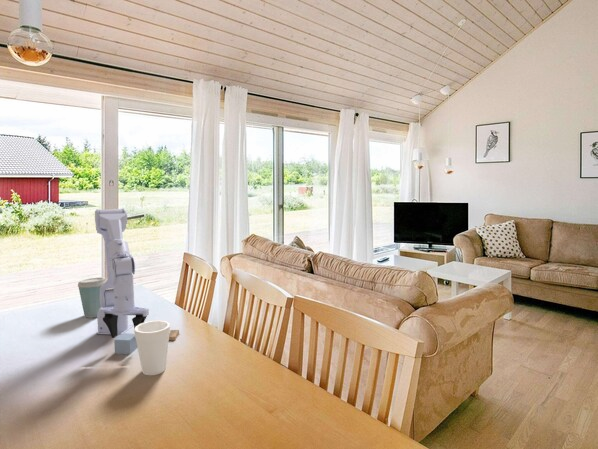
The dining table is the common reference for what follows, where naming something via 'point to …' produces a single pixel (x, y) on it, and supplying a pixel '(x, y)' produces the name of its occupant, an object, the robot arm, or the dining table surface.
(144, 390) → the dining table surface
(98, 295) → the disposable coffee cup
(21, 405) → the dining table surface
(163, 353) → the foam cup
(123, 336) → the cube
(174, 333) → the slab top
